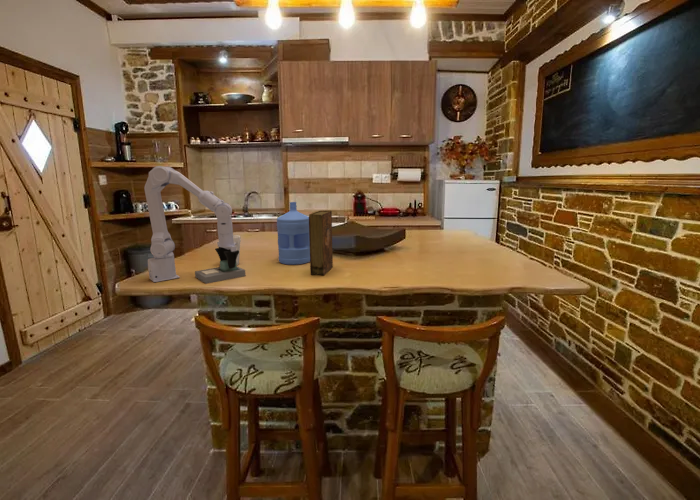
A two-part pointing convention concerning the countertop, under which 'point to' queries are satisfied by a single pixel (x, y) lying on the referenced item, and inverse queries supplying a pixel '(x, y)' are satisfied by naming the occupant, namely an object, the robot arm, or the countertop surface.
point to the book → (320, 242)
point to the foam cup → (237, 240)
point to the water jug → (293, 237)
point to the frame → (218, 274)
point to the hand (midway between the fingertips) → (228, 266)
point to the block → (226, 266)
